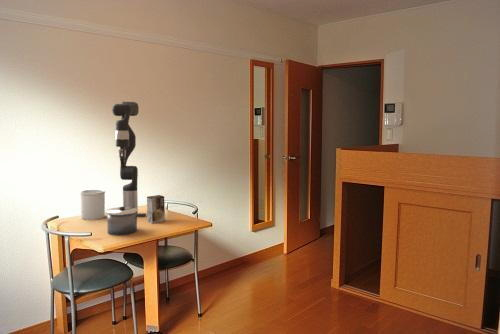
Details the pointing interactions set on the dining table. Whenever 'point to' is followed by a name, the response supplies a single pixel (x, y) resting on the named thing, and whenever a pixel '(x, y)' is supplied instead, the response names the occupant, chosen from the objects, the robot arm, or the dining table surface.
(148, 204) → the coffee box
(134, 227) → the steel pot
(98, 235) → the dining table surface
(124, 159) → the robot arm
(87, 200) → the utensil holder
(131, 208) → the pot lid
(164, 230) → the dining table surface
